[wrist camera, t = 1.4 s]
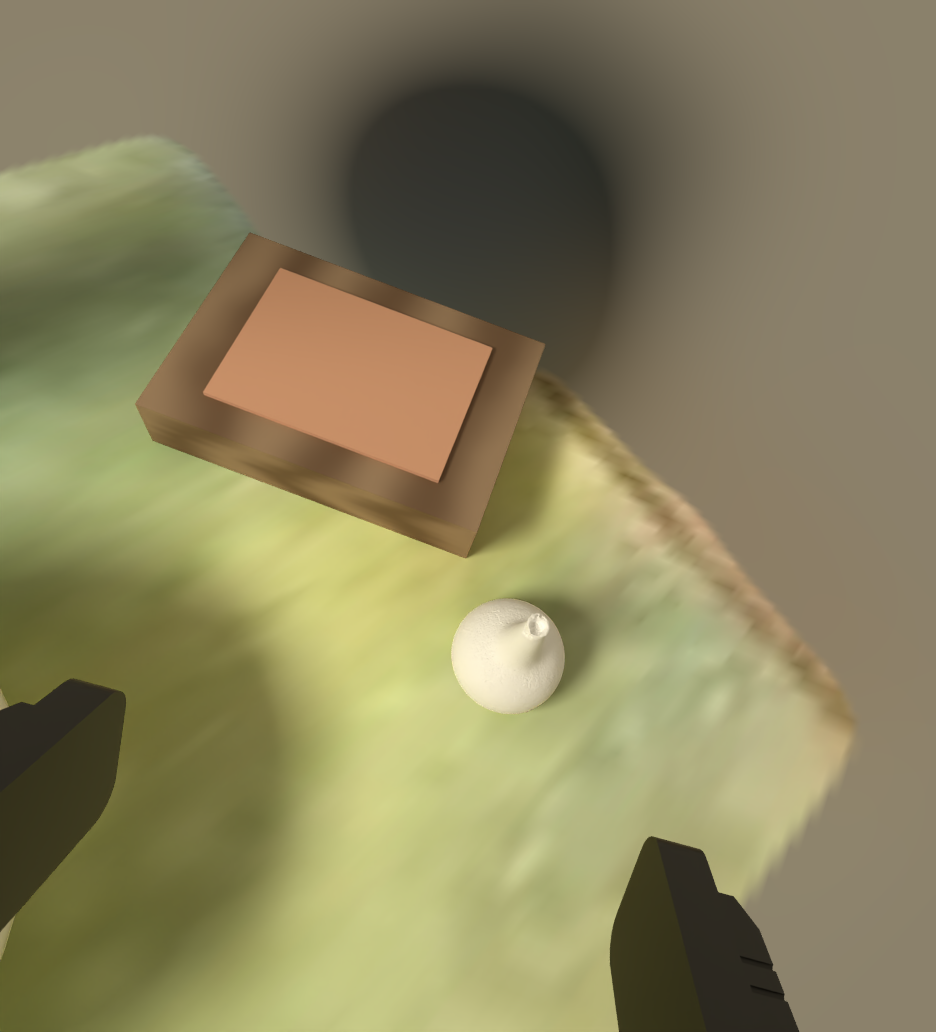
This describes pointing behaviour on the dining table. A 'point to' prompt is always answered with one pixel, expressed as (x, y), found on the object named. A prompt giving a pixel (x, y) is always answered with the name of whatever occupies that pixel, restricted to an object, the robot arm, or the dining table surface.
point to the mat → (352, 374)
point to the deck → (315, 462)
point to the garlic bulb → (508, 656)
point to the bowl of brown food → (2, 937)
